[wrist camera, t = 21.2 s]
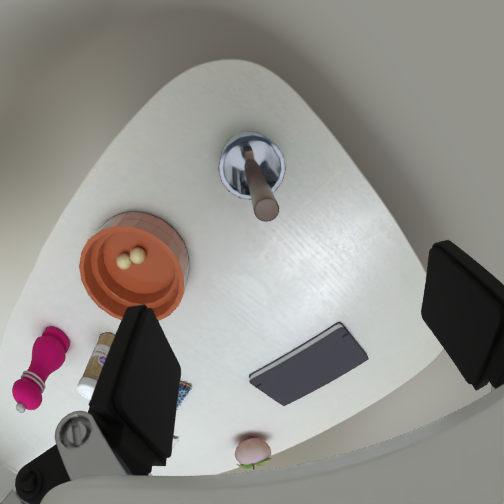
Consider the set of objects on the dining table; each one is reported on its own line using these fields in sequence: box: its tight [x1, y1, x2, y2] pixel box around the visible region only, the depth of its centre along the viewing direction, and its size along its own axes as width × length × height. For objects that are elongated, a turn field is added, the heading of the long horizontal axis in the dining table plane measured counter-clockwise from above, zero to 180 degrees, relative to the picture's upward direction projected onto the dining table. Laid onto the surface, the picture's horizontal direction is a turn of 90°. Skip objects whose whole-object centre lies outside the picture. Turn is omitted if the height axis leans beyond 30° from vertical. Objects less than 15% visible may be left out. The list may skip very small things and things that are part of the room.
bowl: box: [79, 212, 189, 321], centre depth 41 cm, size 15×15×6 cm
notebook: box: [249, 322, 369, 406], centre depth 56 cm, size 13×2×21 cm
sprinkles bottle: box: [77, 333, 115, 400], centre depth 45 cm, size 5×5×13 cm
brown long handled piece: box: [243, 146, 279, 221], centre depth 28 cm, size 4×2×21 cm, turn 9°
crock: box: [219, 131, 286, 200], centre depth 35 cm, size 7×7×8 cm
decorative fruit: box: [235, 438, 271, 469], centre depth 64 cm, size 9×8×10 cm
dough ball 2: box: [130, 247, 146, 264], centre depth 41 cm, size 2×2×2 cm
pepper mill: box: [12, 327, 70, 413], centre depth 41 cm, size 7×7×20 cm
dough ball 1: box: [116, 253, 132, 270], centre depth 42 cm, size 2×2×2 cm
